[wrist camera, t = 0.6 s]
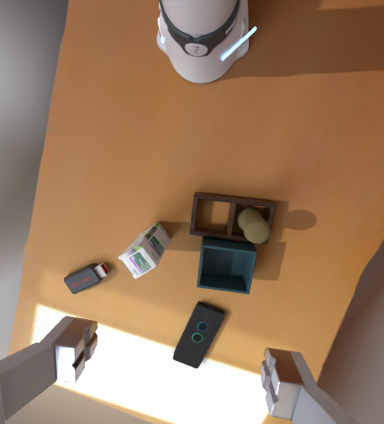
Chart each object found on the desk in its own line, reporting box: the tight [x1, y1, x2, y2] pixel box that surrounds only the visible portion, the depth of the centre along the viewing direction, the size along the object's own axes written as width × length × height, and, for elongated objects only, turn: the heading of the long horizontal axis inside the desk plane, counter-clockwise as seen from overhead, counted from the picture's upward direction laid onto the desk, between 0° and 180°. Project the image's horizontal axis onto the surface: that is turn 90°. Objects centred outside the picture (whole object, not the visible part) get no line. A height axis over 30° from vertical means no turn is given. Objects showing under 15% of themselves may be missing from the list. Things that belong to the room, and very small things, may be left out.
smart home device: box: [173, 302, 224, 368], centre depth 59 cm, size 8×2×20 cm
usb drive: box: [64, 262, 110, 294], centre depth 56 cm, size 5×12×3 cm, turn 117°
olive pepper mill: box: [236, 207, 271, 243], centre depth 45 cm, size 6×6×11 cm
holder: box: [190, 192, 276, 244], centre depth 49 cm, size 10×19×3 cm, turn 84°
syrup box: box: [118, 222, 171, 279], centre depth 47 cm, size 6×6×14 cm
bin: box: [197, 236, 257, 294], centre depth 50 cm, size 11×12×7 cm
